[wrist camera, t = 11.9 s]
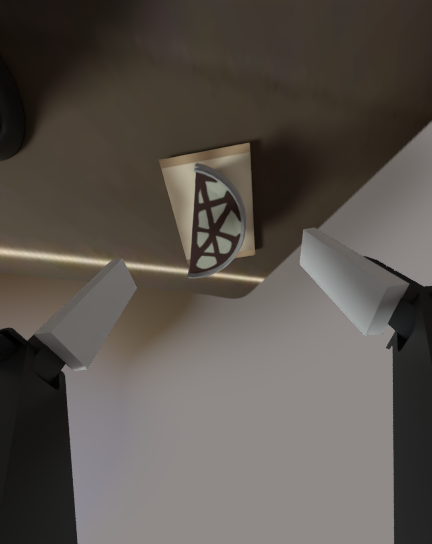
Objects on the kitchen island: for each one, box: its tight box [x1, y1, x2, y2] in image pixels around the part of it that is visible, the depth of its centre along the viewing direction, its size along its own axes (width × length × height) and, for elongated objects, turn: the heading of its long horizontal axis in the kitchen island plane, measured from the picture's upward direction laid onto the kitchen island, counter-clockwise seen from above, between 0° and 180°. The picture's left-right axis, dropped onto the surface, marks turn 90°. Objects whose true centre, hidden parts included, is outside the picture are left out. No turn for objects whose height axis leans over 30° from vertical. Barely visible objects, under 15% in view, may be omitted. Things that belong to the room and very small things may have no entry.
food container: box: [187, 163, 246, 278], centre depth 22 cm, size 12×6×10 cm, turn 172°
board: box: [159, 143, 255, 265], centre depth 27 cm, size 12×16×2 cm
